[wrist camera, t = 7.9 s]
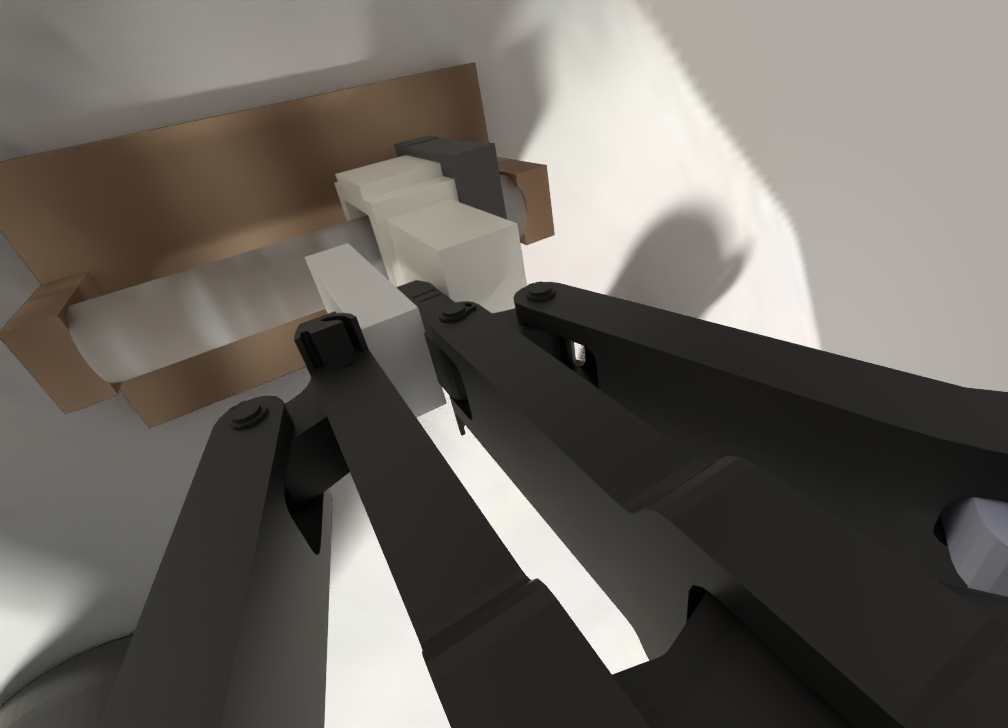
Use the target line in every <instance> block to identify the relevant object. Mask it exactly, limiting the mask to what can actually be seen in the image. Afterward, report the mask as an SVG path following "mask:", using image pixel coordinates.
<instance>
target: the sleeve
mask: <svg viewBox="0 0 1008 728" xmlns="http://www.w3.org/2000/svg"><path fill="white" fill-rule="evenodd" d="M335 175H336V178H337V181H338V182H335V183H334V185H335V187H336V190H337V193H338V196H339V199H340V202H341V205H342V208H343V210H344V213H345V216H346V219H347V221H350V220H353V219H357V218H360V217H363V216H367V215H368V216H369V219H370V222H371V225H372V228H373V231H374V234H375V237H376V240H377V243H378V247H379V250H380V253H381V256H382V259H383V262H384V265H385V268H386V271H387V275H388V278H389V281H390V282H391V283H392V284H393V285H394V286H395V287H398V286H401V285H404V284H407V283H409V282H412V281H415V280H419V281H424V282H429V283H431V284H432V285H433V286H435V287H436V288H437V289H439V290H440V291H441V292H442V293H443V294H445V295H446V296H448V297H449V298H450V299H452V300H453V301H454V302H462V301H470V302H475V303H477V304H479V305H481V306H482V307H484V308H485V309H487V310H488V311H489V312H491V313H496V312H501V311H506V310H510V309H514V308H515V305H514V299H513V297H514V295H515V293H516V292H517V291H519V290H520V289H521V288H524V287H526V286H527V283H526V277H525V270H524V264H523V257H522V251H521V244H520V238H519V232H518V225H517V223H515V222H512V221H509V220H506V219H504V218H501V217H498V216H495V215H493V214H490V213H487V212H484V211H482V210H479V209H476V208H473V207H471V206H468V205H465V204H462V203H460V202H459V199H458V194H457V190H456V185H455V180H454V179H452V178H448V177H445V176H443V174H442V170H441V165H440V163H438V162H434V161H430V160H425V159H421V158H416V157H412V156H407V155H405V156H401V157H397V158H393V159H390V160H386V161H382V162H378V163H375V164H371V165H367V166H363V167H360V168H356V169H352V170H349V171H345V172H341V173H337V174H335Z"/></svg>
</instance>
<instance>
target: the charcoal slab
mask: <svg viewBox="0 0 1008 728" xmlns="http://www.w3.org/2000/svg"><path fill="white" fill-rule="evenodd" d="M394 147H395V151H396V155H397V157H401V156H405V155H407V156H412V157H416V158H421V159H425V160H430V161H434V162H438V163H440V165H441V170H442V174H443V176H445V177H448V178H452V179H454V180H455V185H456V190H457V194H458V199H459V202H460V203H462V204H465V205H468V206H471V207H473V208H476V209H479V210H482V211H484V212H487V213H490V214H493V215H495V216H498V217H501V218H504V219H506V220H507V216H506V210H505V204H504V198H503V192H502V186H501V180H500V174H499V167H498V161H497V155H496V149H495V143H486V142H466V141H458V140H450V139H442V138H439V137H435V136H424V137H420V138H416V139H412V140H408V141H405V142H401V143H397V144H394Z"/></svg>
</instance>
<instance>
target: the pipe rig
mask: <svg viewBox="0 0 1008 728" xmlns="http://www.w3.org/2000/svg"><path fill="white" fill-rule="evenodd" d="M424 136H435V137H439V138H442V139H450V140H458V141H466V142H486V143H489V141H488V136H487V130H486V124H485V118H484V112H483V107H482V101H481V95H480V89H479V83H478V78H477V72H476V66H475V63H469V64H464V65H459V66H454V67H450V68H445V69H440V70H435V71H431V72H426V73H421V74H416V75H412V76H407V77H402V78H397V79H392V80H388V81H383V82H378V83H373V84H369V85H364V86H359V87H354V88H350V89H345V90H340V91H335V92H330V93H326V94H321V95H316V96H311V97H307V98H302V99H297V100H292V101H288V102H283V103H278V104H273V105H269V106H264V107H259V108H254V109H249V110H245V111H240V112H235V113H230V114H226V115H221V116H216V117H211V118H207V119H202V120H197V121H192V122H187V123H183V124H178V125H173V126H168V127H164V128H159V129H154V130H149V131H145V132H140V133H135V134H130V135H126V136H121V137H116V138H111V139H106V140H102V141H97V142H92V143H87V144H83V145H78V146H73V147H68V148H64V149H59V150H54V151H49V152H44V153H40V154H35V155H30V156H25V157H21V158H16V159H11V160H6V161H2V162H0V231H1V232H2V233H3V235H4V236H5V237H6V239H7V240H8V241H9V243H10V244H11V245H12V247H13V248H14V249H15V251H16V252H17V253H18V255H19V256H20V257H21V259H22V260H23V261H24V263H25V264H26V265H27V267H28V268H29V269H30V271H31V272H32V273H33V275H34V276H35V277H36V279H37V280H38V281H39V282H40V284H41V286H40V287H39V288H38V289H37V290H36V291H35V293H34V294H33V295H32V296H31V297H30V298H29V299H28V300H27V301H26V302H25V303H24V305H23V306H22V307H21V308H20V309H19V310H18V311H17V312H16V313H15V314H14V316H13V317H12V318H11V319H10V320H9V321H8V322H7V323H6V324H5V325H4V327H3V328H2V329H1V330H0V339H1V340H2V341H3V342H4V344H5V345H6V346H7V347H8V348H9V349H10V351H11V352H12V353H13V354H14V355H15V356H16V358H17V359H18V360H19V361H20V362H21V363H22V365H23V366H24V367H25V368H26V369H27V370H28V372H29V373H30V374H31V375H32V376H33V377H34V379H35V380H36V381H37V382H38V383H39V384H40V386H41V387H42V388H43V389H44V390H45V391H46V393H47V394H48V395H49V396H50V397H51V398H52V400H53V401H54V402H55V403H56V404H57V405H58V407H59V408H60V409H61V410H62V411H63V412H64V414H65V415H66V414H68V413H71V412H74V411H77V410H79V409H82V408H85V407H88V406H90V405H93V404H96V403H98V402H101V401H104V400H107V399H109V398H112V397H115V396H117V395H118V394H119V390H121V392H122V393H123V394H124V396H125V397H126V398H127V400H128V401H129V402H130V404H131V405H132V406H133V408H134V409H135V410H136V412H137V413H138V414H139V416H140V417H141V418H142V420H143V421H144V422H145V424H146V425H147V426H148V428H152V427H155V426H157V425H160V424H162V423H165V422H167V421H170V420H172V419H175V418H177V417H180V416H182V415H185V414H187V413H190V412H193V411H195V410H198V409H200V408H203V407H205V406H208V405H210V404H213V403H215V402H218V401H220V400H223V399H225V398H228V397H230V396H233V395H236V394H238V393H241V392H243V391H246V390H248V389H251V388H253V387H256V386H258V385H261V384H263V383H266V382H268V381H271V380H273V379H276V378H279V377H281V376H284V375H286V374H289V373H291V372H294V371H296V370H299V369H301V368H304V367H306V365H305V362H304V360H303V358H302V356H301V354H300V352H299V350H298V348H297V346H296V343H295V341H294V335H295V332H296V330H297V328H298V326H299V324H301V323H304V322H307V321H309V320H312V319H315V318H318V317H320V316H323V315H326V314H328V313H327V310H326V308H325V305H324V303H323V301H322V298H321V296H320V293H319V291H318V289H317V286H316V284H315V281H314V279H313V277H312V274H311V272H310V269H309V267H308V265H307V262H306V260H305V257H306V256H309V255H313V254H316V253H319V252H322V251H325V250H328V249H331V248H334V247H338V246H341V245H344V244H347V243H348V244H350V245H351V246H352V247H353V248H354V249H355V250H356V251H357V252H358V253H359V254H360V255H362V256H363V257H364V258H365V259H366V260H367V261H368V262H369V263H370V264H371V265H372V266H373V267H375V268H376V269H377V270H378V271H379V272H380V273H381V274H382V275H383V276H384V277H385V278H387V279H388V280H389V278H388V275H387V271H386V268H385V265H384V262H383V259H382V256H381V253H380V250H379V247H378V243H377V240H376V237H375V234H374V231H373V228H372V225H371V222H370V219H369V216H368V215H367V216H363V217H360V218H357V219H353V220H350V221H347V219H346V216H345V213H344V210H343V208H342V205H341V202H340V199H339V196H338V193H337V190H336V187H335V185H334V183H335V182H338V181H337V178H336V175H335V174H337V173H341V172H345V171H349V170H352V169H356V168H360V167H363V166H367V165H371V164H375V163H378V162H382V161H386V160H390V159H393V158H397V155H396V151H395V147H394V144H397V143H401V142H405V141H408V140H412V139H416V138H420V137H424ZM497 161H498V167H499V174H500V180H501V186H502V192H503V198H504V204H505V210H506V216H507V220H509V221H512V222H515V223H517V225H518V232H519V238H520V243H522V244H525V245H529V244H531V243H534V242H537V241H539V240H542V239H545V238H548V237H550V236H553V235H555V234H554V225H553V217H552V208H551V199H550V190H549V182H548V173H547V165H543V164H536V163H530V162H524V161H518V160H512V159H506V158H500V157H497Z"/></svg>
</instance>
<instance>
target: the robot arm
mask: <svg viewBox="0 0 1008 728" xmlns="http://www.w3.org/2000/svg"><path fill="white" fill-rule="evenodd" d="M305 260H306V262H307V265H308V267H309V269H310V272H311V274H312V277H313V279H314V281H315V284H316V286H317V289H318V291H319V293H320V296H321V298H322V301H323V303H324V305H325V308H326V310H327V313H328V314H326V315H323V316H320V317H318V318H315V319H312V320H309V321H307V322H304V323H301V324H299V326H298V328H297V330H296V332H295V335H294V341H295V343H296V346H297V348H298V350H299V352H300V354H301V356H302V358H303V360H304V362H305V365H306V367H307V369H308V371H309V373H310V375H311V380H310V383H309V384H308V386H307V387H306V388H305V389H304V390H303V391H302V392H301V393H300V394H299V395H298V396H296V397H295V398H293V399H292V400H290V401H289V402H287V403H285V404H284V402H283V400H281V399H280V398H278V397H276V396H262V397H257V398H253V399H250V400H248V401H243V402H241V403H239V404H237V406H236V405H235V406H234V407H232V408H230V409H229V410H228V411H227V412H226V413H225V414H224V415H223V416H222V417H220V418H219V419H218V421H217V422H216V424H215V425H214V427H213V429H212V432H211V435H210V437H209V440H208V442H207V445H206V448H205V450H204V453H203V455H202V458H201V461H200V463H199V466H198V468H197V471H196V474H195V476H194V479H193V481H192V484H191V486H190V489H189V492H188V494H187V497H186V499H185V502H184V505H183V507H182V510H181V512H180V515H179V518H178V520H177V523H176V525H175V528H174V531H173V533H172V536H171V538H170V541H169V544H168V546H167V549H166V551H165V554H164V557H163V559H162V562H161V564H160V567H159V570H158V572H157V575H156V577H155V580H154V583H153V585H152V588H151V590H150V593H149V596H148V598H147V601H146V603H145V606H144V609H143V611H142V614H141V616H140V619H139V622H138V624H137V627H136V629H135V632H134V634H133V635H132V636H129V637H125V638H122V639H119V640H116V641H113V642H110V643H107V644H104V645H102V646H99V647H97V648H94V649H92V650H89V651H87V652H85V653H83V654H80V655H78V656H76V657H74V658H72V659H70V660H68V661H66V662H64V663H62V664H61V665H59V666H57V667H55V668H53V669H52V670H50V671H48V672H47V673H45V674H43V675H42V676H40V677H39V678H37V679H36V680H34V681H33V682H31V683H30V684H28V685H27V686H26V687H24V688H23V689H22V690H20V691H19V692H18V693H17V694H16V695H14V696H13V697H12V698H11V699H10V700H8V701H7V702H6V703H5V704H4V705H3V706H2V707H1V708H0V728H324V718H325V691H326V664H327V637H328V610H329V583H330V556H331V529H332V502H333V498H332V494H331V491H330V489H329V488H330V487H331V486H332V485H334V484H335V483H336V482H337V481H339V480H340V479H341V478H343V477H344V476H345V475H347V474H348V473H349V472H350V473H351V475H352V478H353V480H354V483H355V485H356V488H357V490H358V493H359V495H360V497H361V500H362V502H363V505H364V507H365V510H366V512H367V515H368V517H369V519H370V522H371V524H372V527H373V529H374V532H375V534H376V537H377V539H378V541H379V544H380V546H381V549H382V551H383V554H384V556H385V558H386V561H387V563H388V566H389V568H390V571H391V573H392V576H393V578H394V580H395V583H396V585H397V588H398V590H399V593H400V595H401V598H402V600H403V602H404V605H405V607H406V610H407V612H408V615H409V617H410V620H411V622H412V624H413V627H414V629H415V632H416V634H417V637H418V639H419V642H420V644H421V647H422V654H423V657H424V660H425V663H426V666H427V668H428V671H429V674H430V676H431V679H432V681H433V684H434V686H435V689H436V691H437V694H438V696H439V699H440V701H441V704H442V706H443V709H444V711H445V714H446V716H447V719H448V721H449V723H450V726H451V728H1008V392H1001V391H992V390H983V389H974V388H965V387H961V386H957V385H954V384H950V383H946V382H942V381H938V380H934V379H930V378H926V377H922V376H918V375H914V374H910V373H907V372H903V371H899V370H895V369H891V368H887V367H884V366H880V365H876V364H872V363H868V362H864V361H860V360H856V359H852V358H848V357H844V356H841V355H837V354H833V353H829V352H825V351H821V350H817V349H814V348H810V347H806V346H802V345H798V344H794V343H790V342H786V341H782V340H779V339H775V338H771V337H767V336H763V335H759V334H755V333H751V332H747V331H744V330H740V329H736V328H732V327H728V326H724V325H720V324H716V323H712V322H709V321H705V320H701V319H697V318H693V317H689V316H685V315H681V314H677V313H674V312H670V311H666V310H662V309H658V308H654V307H650V306H646V305H642V304H639V303H635V302H631V301H627V300H623V299H619V298H615V297H611V296H607V295H604V294H600V293H596V292H592V291H588V290H584V289H580V288H576V287H572V286H568V285H565V284H561V283H555V282H535V283H532V284H529V285H528V286H526V287H524V288H521V289H520V290H519V291H517V292H516V293H515V295H514V297H513V299H514V305H515V308H514V309H510V310H506V311H501V312H496V313H491V312H489V311H488V310H487V309H485V308H484V307H482V306H481V305H479V304H477V303H475V302H470V301H462V302H454V301H453V300H452V299H450V298H449V297H448V296H446V295H445V294H443V293H442V292H441V291H440V290H439V289H437V288H436V287H435V286H433V285H432V284H431V283H429V282H424V281H419V280H415V281H412V282H409V283H407V284H404V285H401V286H398V287H395V286H394V285H393V284H392V283H391V282H390V281H389V280H388V279H387V278H385V277H384V276H383V275H382V274H381V273H380V272H379V271H378V270H377V269H376V268H375V267H373V266H372V265H371V264H370V263H369V262H368V261H367V260H366V259H365V258H364V257H363V256H362V255H360V254H359V253H358V252H357V251H356V250H355V249H354V248H353V247H352V246H351V245H350V244H348V243H347V244H344V245H341V246H338V247H334V248H331V249H328V250H325V251H322V252H319V253H316V254H313V255H309V256H306V257H305ZM574 342H576V343H578V344H581V345H583V346H584V347H585V358H586V359H585V362H582V361H579V360H576V358H575V348H574ZM442 387H443V388H444V389H445V391H446V392H447V393H448V394H449V396H450V400H451V403H452V406H453V410H454V413H455V417H456V420H457V424H458V427H459V430H460V433H461V436H462V435H464V434H465V430H464V426H465V425H466V426H467V428H468V429H469V430H470V431H471V432H472V434H473V435H474V436H475V437H476V438H477V440H478V441H479V442H480V443H481V444H482V446H483V447H484V448H485V449H486V450H487V452H488V453H489V454H490V455H491V456H492V458H493V459H494V460H495V461H496V462H497V464H498V465H499V466H500V467H501V468H502V470H503V471H504V472H505V473H506V474H507V476H508V477H509V478H510V479H511V480H512V482H513V483H514V484H515V485H516V486H517V488H518V489H519V490H520V491H521V492H522V494H523V495H524V496H525V497H526V498H527V500H528V501H529V502H530V503H531V504H532V506H533V507H534V508H535V509H536V510H537V512H538V513H539V514H540V515H541V517H542V518H543V519H544V520H545V521H546V523H547V524H548V525H549V526H550V527H551V529H552V530H553V531H554V532H555V533H556V535H557V536H558V537H559V538H560V539H561V541H562V542H563V543H564V544H565V545H566V547H567V548H568V549H569V550H570V551H571V553H572V554H573V555H574V556H575V557H576V559H577V560H578V561H579V562H580V563H581V565H582V566H583V567H584V568H585V569H586V571H587V572H588V573H589V574H590V575H591V577H592V578H593V579H594V580H595V581H596V583H597V584H598V585H599V586H600V587H601V589H602V590H603V591H604V592H605V593H606V595H607V596H608V597H609V598H610V599H611V601H612V602H613V603H614V604H615V605H616V607H617V608H618V609H619V610H620V611H621V613H622V614H623V615H624V616H625V617H626V619H627V620H628V621H629V623H630V624H631V625H632V627H633V628H634V630H635V632H636V633H637V635H638V637H639V640H640V642H641V644H642V646H643V648H644V651H645V653H646V655H647V657H648V659H649V660H650V661H647V662H645V663H642V664H639V665H637V666H634V667H631V668H629V669H626V670H623V671H621V672H618V673H615V674H613V675H612V674H611V673H610V671H609V670H608V669H607V667H606V666H605V665H604V663H603V662H602V660H601V659H600V658H599V656H598V655H597V654H596V652H595V651H594V649H593V648H592V647H591V645H590V644H589V642H588V641H587V640H586V638H585V637H584V636H583V634H582V633H581V631H580V630H579V629H578V627H577V626H576V625H575V623H574V622H573V620H572V619H571V618H570V616H569V615H568V613H567V612H566V611H565V609H564V608H563V607H562V605H561V604H560V602H559V601H558V600H557V598H556V597H555V596H554V595H553V593H552V592H551V591H550V590H549V589H548V587H547V586H546V585H545V584H544V583H543V582H541V581H540V580H539V579H538V578H537V579H534V580H531V579H529V578H528V577H527V576H526V575H525V573H524V572H523V571H522V569H521V568H520V567H519V565H518V564H517V562H516V561H515V559H514V558H513V556H512V555H511V554H510V552H509V551H508V549H507V548H506V546H505V545H504V544H503V542H502V541H501V539H500V538H499V536H498V535H497V533H496V532H495V531H494V529H493V528H492V526H491V525H490V523H489V522H488V520H487V519H486V518H485V516H484V515H483V513H482V512H481V510H480V509H479V507H478V506H477V505H476V503H475V502H474V500H473V499H472V497H471V496H470V495H469V493H468V492H467V490H466V489H465V487H464V486H463V484H462V483H461V482H460V480H459V479H458V477H457V476H456V474H455V473H454V471H453V470H452V469H451V467H450V466H449V464H448V463H447V461H446V460H445V458H444V457H443V456H442V454H441V453H440V451H439V450H438V448H437V447H436V446H435V444H434V443H433V441H432V440H431V438H430V437H429V435H428V434H427V433H426V431H425V430H424V428H423V427H422V425H421V424H420V422H419V421H418V420H417V418H416V417H418V416H420V415H423V414H425V413H427V412H429V411H431V410H433V409H435V408H438V407H440V406H442V405H444V404H446V400H445V396H444V393H443V390H442Z"/></svg>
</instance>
